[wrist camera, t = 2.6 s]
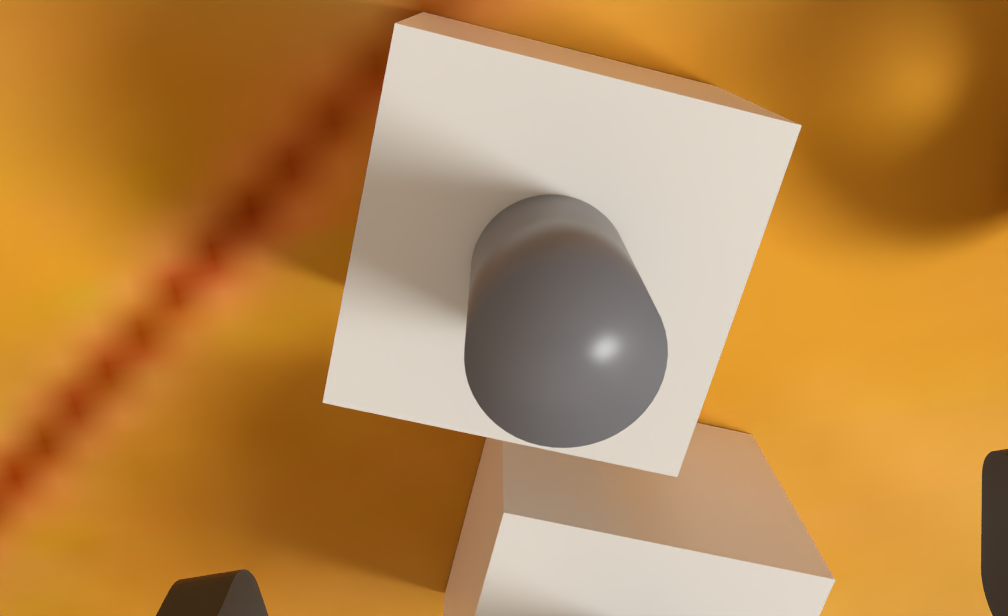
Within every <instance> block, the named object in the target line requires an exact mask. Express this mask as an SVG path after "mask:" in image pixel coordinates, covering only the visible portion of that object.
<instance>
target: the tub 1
mask: <svg viewBox="0 0 1008 616" xmlns="http://www.w3.org/2000/svg"><path fill="white" fill-rule="evenodd" d="M801 126H802V125H800V124H798V123H796V122H793V121H791V120H789V119H787V118H785V117H782V116H780V115H778V114H776V113H774V112H772V111H769V110H767V109H765V108H763V107H761V106H758V105H756V104H754V103H752V102H750V101H748V100H745V99H743V98H741V97H739V96H737V95H734V94H732V93H730V92H728V91H726V90H724V89H721V88H719V87H717V86H714V85H710V84H706V83H703V82H699V81H695V80H691V79H687V78H683V77H679V76H675V75H671V74H667V73H663V72H659V71H655V70H651V69H647V68H643V67H639V66H635V65H631V64H627V63H624V62H620V61H616V60H612V59H608V58H604V57H600V56H596V55H592V54H588V53H584V52H580V51H576V50H572V49H568V48H564V47H560V46H556V45H552V44H548V43H545V42H541V41H537V40H533V39H529V38H525V37H521V36H517V35H513V34H509V33H505V32H501V31H497V30H493V29H489V28H485V27H481V26H477V25H473V24H470V23H466V22H462V21H458V20H454V19H450V18H446V17H442V16H438V15H434V14H430V13H426V12H422V13H419V14H417V15H414V16H412V17H409V18H407V19H404V20H402V21H399V22H396V23H395V25H394V30H393V35H392V41H391V46H390V51H389V56H388V62H387V67H386V72H385V77H384V83H383V88H382V93H381V98H380V104H379V109H378V114H377V119H376V125H375V130H374V135H373V140H372V145H371V151H370V156H369V161H368V166H367V172H366V177H365V182H364V187H363V193H362V198H361V203H360V208H359V214H358V219H357V224H356V229H355V235H354V240H353V245H352V250H351V256H350V261H349V266H348V271H347V277H346V282H345V287H344V292H343V298H342V303H341V308H340V313H339V318H338V324H337V329H336V334H335V339H334V345H333V350H332V355H331V360H330V366H329V371H328V376H327V381H326V387H325V392H324V397H323V402H322V403H326V404H331V405H336V406H340V407H345V408H350V409H355V410H360V411H364V412H369V413H374V414H379V415H383V416H388V417H393V418H398V419H402V420H407V421H412V422H417V423H421V424H426V425H431V426H436V427H440V428H445V429H450V430H455V431H460V432H464V433H469V434H474V435H479V436H483V437H488V438H493V439H498V440H502V441H507V442H512V443H517V444H521V445H526V446H531V447H536V448H540V449H545V450H550V451H555V452H560V453H564V454H569V455H574V456H579V457H583V458H588V459H593V460H598V461H602V462H607V463H612V464H617V465H621V466H626V467H631V468H636V469H641V470H645V471H650V472H655V473H660V474H664V475H669V476H674V477H678V474H679V471H680V468H681V465H682V463H683V460H684V457H685V454H686V451H687V448H688V446H689V443H690V440H691V437H692V434H693V431H694V429H695V426H696V423H697V420H698V417H699V415H700V412H701V409H702V406H703V403H704V400H705V398H706V395H707V392H708V389H709V386H710V383H711V381H712V378H713V375H714V372H715V369H716V366H717V364H718V361H719V358H720V355H721V352H722V350H723V347H724V344H725V341H726V338H727V335H728V333H729V330H730V327H731V324H732V321H733V318H734V316H735V313H736V310H737V307H738V304H739V302H740V299H741V296H742V293H743V290H744V287H745V285H746V282H747V279H748V276H749V273H750V270H751V268H752V265H753V262H754V259H755V256H756V253H757V251H758V248H759V245H760V242H761V239H762V237H763V234H764V231H765V228H766V225H767V222H768V220H769V217H770V214H771V211H772V208H773V205H774V203H775V200H776V197H777V194H778V191H779V188H780V186H781V183H782V180H783V177H784V174H785V172H786V169H787V166H788V163H789V160H790V157H791V155H792V152H793V149H794V146H795V143H796V140H797V138H798V135H799V132H800V129H801Z"/></svg>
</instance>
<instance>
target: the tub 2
mask: <svg viewBox="0 0 1008 616" xmlns="http://www.w3.org/2000/svg"><path fill="white" fill-rule="evenodd" d="M834 581H835V578H834V576H833V575H832V573H831V571H830V569H829V568H828V566H827V564H826V563H825V561H824V559H823V557H822V556H821V554H820V552H819V550H818V549H817V547H816V545H815V543H814V542H813V540H812V538H811V536H810V535H809V533H808V531H807V529H806V528H805V526H804V524H803V522H802V521H801V519H800V517H799V515H798V514H797V512H796V510H795V508H794V507H793V505H792V503H791V501H790V500H789V498H788V496H787V495H786V493H785V491H784V489H783V488H782V486H781V484H780V482H779V481H778V479H777V477H776V475H775V474H774V472H773V470H772V468H771V467H770V465H769V463H768V461H767V460H766V458H765V456H764V454H763V453H762V451H761V449H760V447H759V446H758V444H757V442H756V440H755V439H754V437H753V435H752V434H747V433H743V432H738V431H733V430H729V429H724V428H719V427H715V426H710V425H706V424H701V423H696V426H695V429H694V431H693V434H692V437H691V440H690V443H689V446H688V448H687V451H686V454H685V457H684V460H683V463H682V465H681V468H680V471H679V474H678V477H674V476H669V475H664V474H660V473H655V472H650V471H645V470H641V469H636V468H631V467H626V466H621V465H617V464H612V463H607V462H602V461H598V460H593V459H588V458H583V457H579V456H574V455H569V454H564V453H560V452H555V451H550V450H545V449H540V448H536V447H531V446H526V445H521V444H517V443H512V442H507V441H502V440H498V439H493V438H488V437H486V440H485V444H484V448H483V451H482V455H481V459H480V463H479V467H478V470H477V474H476V478H475V482H474V485H473V489H472V493H471V497H470V501H469V504H468V508H467V512H466V516H465V519H464V523H463V527H462V531H461V535H460V538H459V542H458V546H457V550H456V553H455V557H454V561H453V565H452V569H451V572H450V576H449V580H448V584H447V587H446V591H445V597H444V610H443V616H819V615H820V613H821V611H822V608H823V606H824V604H825V602H826V599H827V597H828V595H829V593H830V590H831V588H832V586H833V584H834Z"/></svg>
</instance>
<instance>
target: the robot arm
mask: <svg viewBox="0 0 1008 616" xmlns="http://www.w3.org/2000/svg"><path fill="white" fill-rule="evenodd" d="M981 576H982V583H983V588H984V592H985V596H986V599H987V602H988V605H989V608H990V610H991V612H992V615H993V616H1008V449H1004V450H998V451H992V452H990V453H989V454H988V455H987V456H986V458H985V460H984V464H983V469H982V534H981ZM156 616H268V613H267V610H266V607H265V604H264V601H263V598H262V596H261V593H260V590H259V587H258V584H257V582H256V580H255V578H254V576H253V575H252V574H251V573H250V572H249V571H248V570H245V569H244V570H237V571H231V572H225V573H219V574H212V575H206V576H200V577H194V578H187V579H181V580H178V581H176V582H175V583H174V584H173V586H172V587H171V589H170V590H169V592H168V594H167V596H166V598H165V600H164V602H163V603H162V605H161V607H160V609H159V611H158V613H157V615H156Z"/></svg>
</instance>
